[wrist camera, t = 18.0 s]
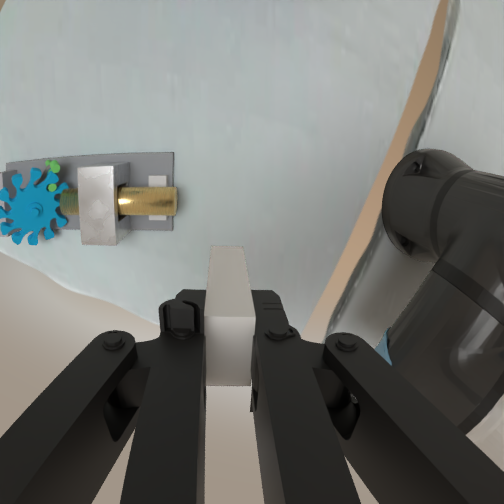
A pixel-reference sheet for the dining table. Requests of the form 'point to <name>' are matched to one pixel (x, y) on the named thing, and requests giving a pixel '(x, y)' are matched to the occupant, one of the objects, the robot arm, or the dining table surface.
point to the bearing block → (102, 203)
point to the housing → (141, 164)
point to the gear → (33, 204)
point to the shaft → (130, 201)
